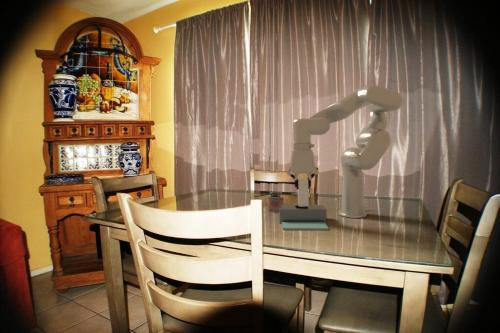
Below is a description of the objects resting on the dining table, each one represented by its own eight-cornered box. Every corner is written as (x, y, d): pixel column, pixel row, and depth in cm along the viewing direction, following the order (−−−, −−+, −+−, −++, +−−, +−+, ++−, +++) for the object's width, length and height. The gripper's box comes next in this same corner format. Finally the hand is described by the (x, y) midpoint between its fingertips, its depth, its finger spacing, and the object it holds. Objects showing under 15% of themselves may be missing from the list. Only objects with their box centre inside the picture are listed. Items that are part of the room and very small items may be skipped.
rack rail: (322, 217, 130) (322, 204, 130) (326, 223, 122) (326, 209, 121) (278, 217, 132) (278, 204, 131) (279, 223, 123) (279, 209, 122)
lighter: (267, 211, 143) (267, 191, 142) (269, 209, 146) (269, 190, 145) (282, 213, 139) (282, 193, 138) (284, 211, 142) (284, 191, 141)
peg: (307, 204, 128) (306, 177, 127) (308, 206, 124) (308, 179, 123) (298, 204, 128) (297, 178, 127) (299, 206, 124) (298, 179, 123)
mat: (324, 224, 121) (324, 222, 121) (328, 230, 113) (328, 228, 113) (281, 223, 122) (281, 222, 122) (282, 229, 114) (282, 227, 114)
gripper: (320, 146, 127) (320, 186, 129) (282, 147, 128) (283, 187, 130) (323, 146, 119) (323, 189, 121) (283, 148, 120) (284, 190, 122)
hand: (302, 188), depth 125 cm, fingers closed on peg, 4 cm apart
